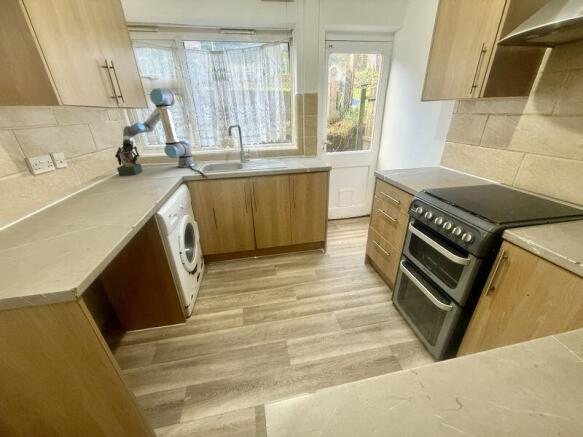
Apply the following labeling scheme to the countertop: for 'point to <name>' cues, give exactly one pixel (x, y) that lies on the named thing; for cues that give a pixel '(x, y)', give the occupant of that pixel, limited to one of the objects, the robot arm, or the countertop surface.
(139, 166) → the tote
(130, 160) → the coffee box
